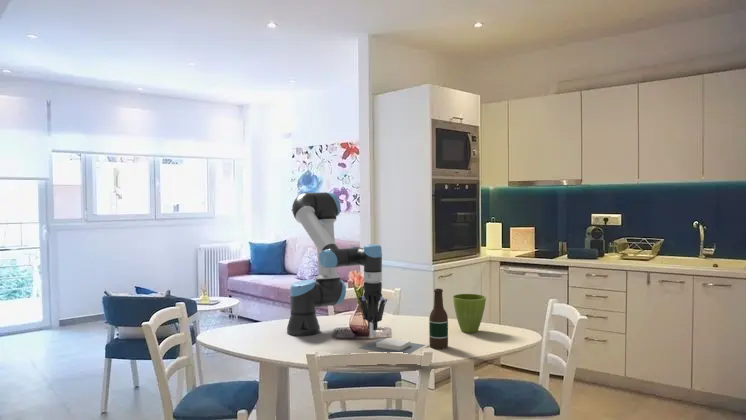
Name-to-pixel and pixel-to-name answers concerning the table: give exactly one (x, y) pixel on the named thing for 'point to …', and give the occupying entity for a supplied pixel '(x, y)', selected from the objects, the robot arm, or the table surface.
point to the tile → (393, 344)
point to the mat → (407, 350)
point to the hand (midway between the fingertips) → (372, 337)
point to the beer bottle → (438, 323)
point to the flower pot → (469, 311)
